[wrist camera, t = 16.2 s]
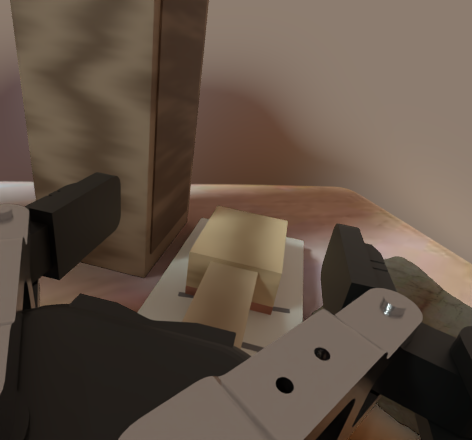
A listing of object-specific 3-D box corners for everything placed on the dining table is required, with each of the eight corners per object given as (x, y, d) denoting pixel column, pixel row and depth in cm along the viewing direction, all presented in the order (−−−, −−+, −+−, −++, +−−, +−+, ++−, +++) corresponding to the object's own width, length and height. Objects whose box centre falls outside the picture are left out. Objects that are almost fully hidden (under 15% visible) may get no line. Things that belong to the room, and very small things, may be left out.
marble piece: (383, 278, 36) (397, 246, 35) (549, 377, 27) (580, 340, 25) (284, 344, 26) (297, 303, 24) (501, 541, 17) (549, 499, 15)
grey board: (75, 424, 18) (73, 406, 17) (200, 228, 39) (201, 217, 39) (293, 491, 17) (300, 475, 16) (300, 251, 38) (303, 240, 37)
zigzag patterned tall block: (42, 252, 31) (-28, -288, 16) (110, 203, 41) (104, -150, 27) (145, 278, 30) (167, -274, 15) (188, 221, 40) (224, -136, 26)
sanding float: (104, 448, 16) (101, 394, 14) (212, 240, 34) (217, 205, 33) (246, 492, 15) (263, 441, 13) (279, 255, 34) (287, 221, 32)
